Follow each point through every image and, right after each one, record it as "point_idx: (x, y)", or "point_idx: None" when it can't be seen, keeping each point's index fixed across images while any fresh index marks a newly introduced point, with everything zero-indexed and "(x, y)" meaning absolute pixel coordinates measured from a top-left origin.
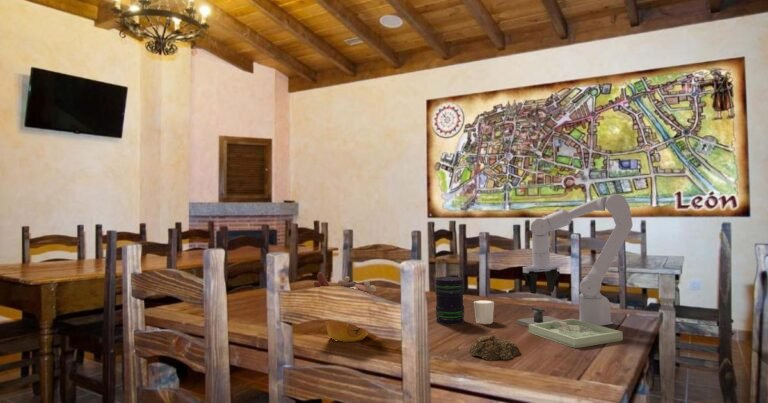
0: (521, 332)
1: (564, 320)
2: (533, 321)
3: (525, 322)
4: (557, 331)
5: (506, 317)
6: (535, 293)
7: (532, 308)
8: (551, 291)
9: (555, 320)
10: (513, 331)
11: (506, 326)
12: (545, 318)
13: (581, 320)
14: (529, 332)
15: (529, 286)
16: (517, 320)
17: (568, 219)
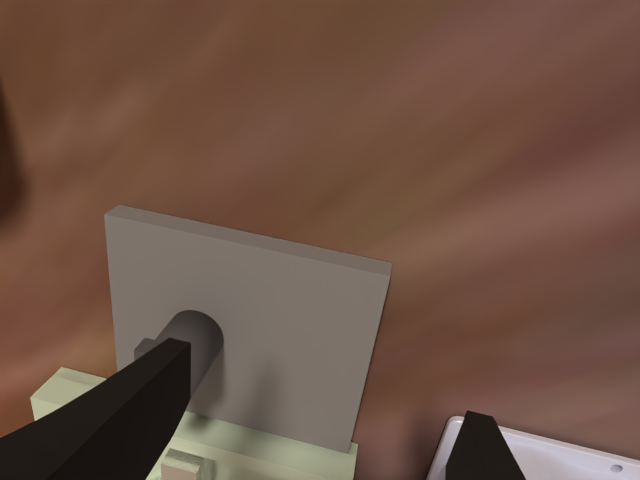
0: (32, 342)
1: (268, 472)
2: (173, 311)
3: (112, 296)
4: (158, 466)
5: (168, 3)
6: (182, 399)
7: (139, 350)
8: (448, 465)
9: (178, 474)
10: (4, 308)
11: (19, 216)
12: (307, 315)
13: (444, 475)
14: (61, 372)
15: (104, 393)
16: (107, 220)
17: None
